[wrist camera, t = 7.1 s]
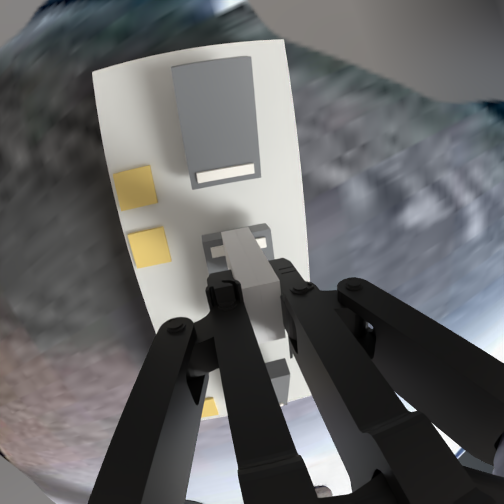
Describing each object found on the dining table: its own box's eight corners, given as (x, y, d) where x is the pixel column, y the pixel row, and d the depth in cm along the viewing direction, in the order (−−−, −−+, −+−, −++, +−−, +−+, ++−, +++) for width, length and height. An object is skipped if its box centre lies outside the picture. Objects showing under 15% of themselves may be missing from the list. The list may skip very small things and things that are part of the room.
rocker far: (240, 401, 27) (244, 416, 26) (231, 370, 22) (235, 388, 21) (283, 391, 27) (287, 405, 26) (285, 357, 22) (291, 375, 21)
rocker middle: (222, 329, 22) (224, 342, 20) (201, 235, 19) (202, 243, 18) (277, 317, 22) (283, 329, 21) (265, 222, 20) (271, 229, 18)
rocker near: (190, 180, 19) (192, 191, 17) (171, 66, 14) (170, 68, 13) (255, 168, 19) (262, 178, 18) (245, 55, 15) (252, 56, 14)
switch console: (188, 386, 32) (191, 429, 26) (107, 83, 20) (83, 70, 14) (298, 363, 33) (316, 401, 28) (265, 55, 21) (288, 35, 16)
